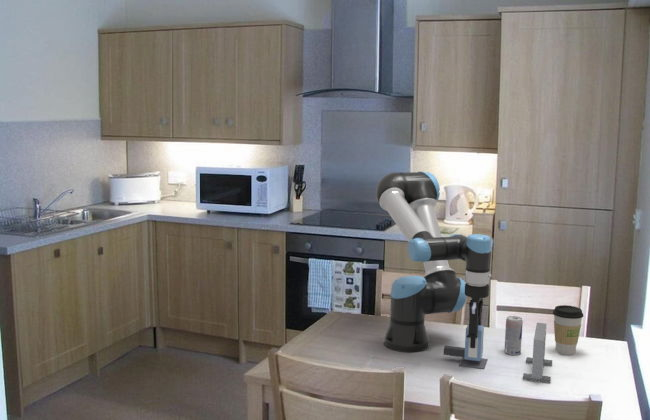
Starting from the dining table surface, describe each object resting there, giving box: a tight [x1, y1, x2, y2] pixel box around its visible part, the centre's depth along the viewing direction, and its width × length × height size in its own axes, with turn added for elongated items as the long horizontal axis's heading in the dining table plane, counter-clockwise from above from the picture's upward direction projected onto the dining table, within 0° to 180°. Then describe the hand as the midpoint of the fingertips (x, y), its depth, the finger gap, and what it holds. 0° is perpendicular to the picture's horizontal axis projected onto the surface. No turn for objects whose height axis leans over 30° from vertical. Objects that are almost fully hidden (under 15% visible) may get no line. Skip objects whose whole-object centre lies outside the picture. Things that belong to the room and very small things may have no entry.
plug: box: [443, 323, 485, 361], centre depth 231 cm, size 12×6×10 cm, turn 71°
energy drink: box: [504, 315, 524, 356], centre depth 240 cm, size 5×5×12 cm
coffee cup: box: [552, 304, 584, 356], centre depth 241 cm, size 10×10×15 cm
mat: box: [458, 357, 489, 370], centre depth 231 cm, size 8×9×1 cm
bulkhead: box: [522, 322, 553, 384], centre depth 223 cm, size 8×18×13 cm, turn 161°
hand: (473, 353), depth 230 cm, fingers closed on plug, 5 cm apart
